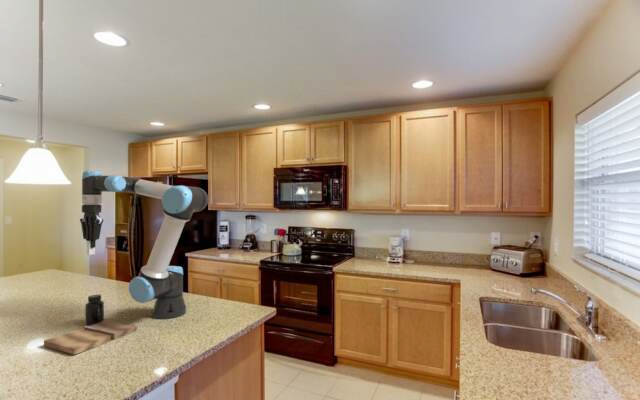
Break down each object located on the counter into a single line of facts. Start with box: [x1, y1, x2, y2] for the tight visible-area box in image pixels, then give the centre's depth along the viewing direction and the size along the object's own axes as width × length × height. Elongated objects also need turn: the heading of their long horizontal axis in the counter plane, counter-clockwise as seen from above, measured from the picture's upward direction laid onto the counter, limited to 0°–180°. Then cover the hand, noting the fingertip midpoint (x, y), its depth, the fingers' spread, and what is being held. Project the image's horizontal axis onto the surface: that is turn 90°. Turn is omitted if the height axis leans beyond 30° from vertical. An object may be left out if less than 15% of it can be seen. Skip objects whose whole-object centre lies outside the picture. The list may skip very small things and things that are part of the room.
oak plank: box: [43, 328, 112, 355], centre depth 123 cm, size 13×18×2 cm
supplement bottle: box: [84, 294, 105, 326], centre depth 145 cm, size 7×7×12 cm
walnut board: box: [84, 319, 138, 341], centre depth 135 cm, size 10×18×2 cm, turn 68°
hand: (91, 254), depth 152 cm, fingers closed
